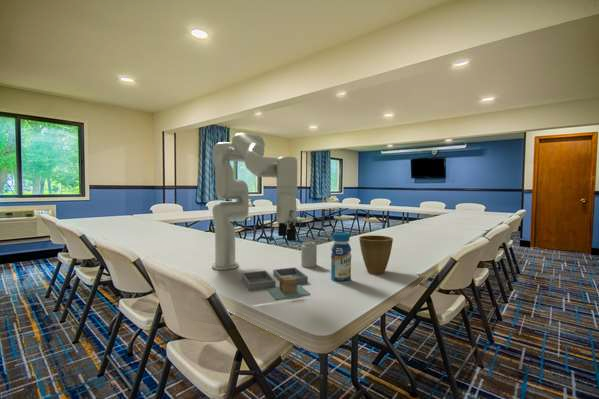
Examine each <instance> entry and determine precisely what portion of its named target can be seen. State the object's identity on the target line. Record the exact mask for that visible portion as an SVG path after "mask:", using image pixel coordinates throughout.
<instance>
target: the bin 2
mask: <svg viewBox="0 0 599 399" xmlns="http://www.w3.org/2000/svg"><path fill="white" fill-rule="evenodd" d="M272 273H273V274H272V277H273V278H274V279H276V280H277V281H278V282H279V283H280V276H286V275H293V276H294V277H295V278H297V284H300V285H302V284H308V282H309V280H308V279H309V277H308V276H307V274H305V273H303V271H301V270H300V269H298V268H296V267H288V268H287V267H285V268H277V269H273V271H272Z"/></svg>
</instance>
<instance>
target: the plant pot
mask: <svg viewBox="0 0 599 399" xmlns="http://www.w3.org/2000/svg"><path fill="white" fill-rule="evenodd" d="M393 239H394V238H393V237H391V236H387V235H377V234H376V235H370V234H369V235H361V236H359V237H358V240H359V244H360V245H359V246H360V251H361V256H362V259H363V262H364V265H365V268H366V272H367V273H368V274H372V275H383V274H384V273H386V272H385V271H386V269H387V266H388V263H389V260H390V257H391V252H392V249H393V248H392V247H393V242H394V240H393Z"/></svg>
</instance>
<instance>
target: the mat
mask: <svg viewBox="0 0 599 399" xmlns="http://www.w3.org/2000/svg"><path fill="white" fill-rule="evenodd" d="M266 290H267V291H268V293H269V294H270V295H271V296H272V298H273V299H274V300H275V301H278V300H283V299H284V300H287V299H295V298H300V297H309V296H310V295H311V293H310V292H309V291H308V290H306V289H305V287H303V286H302V284H297V292H296V293H289V294H283V293H282V292H281V291H280V286H275V287H273V288H266Z"/></svg>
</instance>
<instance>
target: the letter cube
mask: <svg viewBox="0 0 599 399" xmlns="http://www.w3.org/2000/svg"><path fill="white" fill-rule="evenodd" d="M279 287H280V291H281V292H282V293H283V294H289V293H296V292H297V278H295V277H294V276H293V275H286V276H280V282H279Z"/></svg>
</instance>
